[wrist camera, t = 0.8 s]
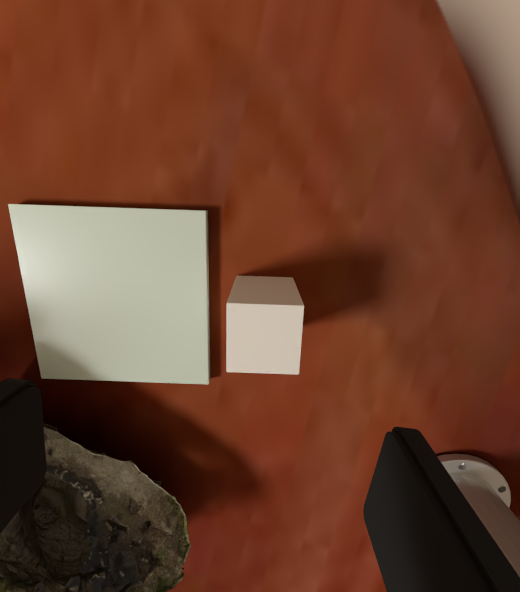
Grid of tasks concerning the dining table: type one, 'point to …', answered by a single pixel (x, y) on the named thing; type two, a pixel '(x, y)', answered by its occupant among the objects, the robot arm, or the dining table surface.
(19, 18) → the dining table surface
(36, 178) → the dining table surface
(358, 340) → the dining table surface
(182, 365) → the sage mat
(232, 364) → the cream block
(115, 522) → the hollow geode rock
